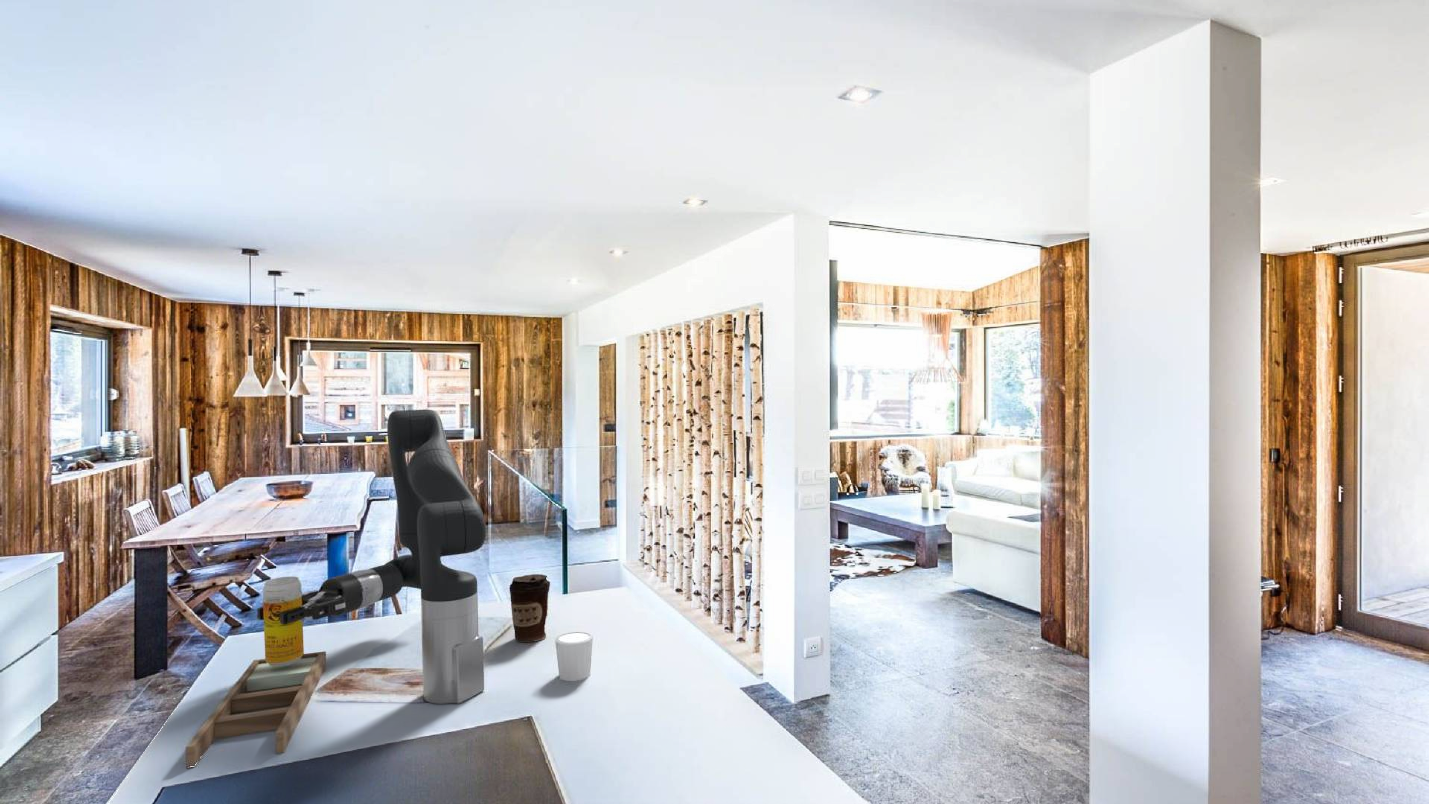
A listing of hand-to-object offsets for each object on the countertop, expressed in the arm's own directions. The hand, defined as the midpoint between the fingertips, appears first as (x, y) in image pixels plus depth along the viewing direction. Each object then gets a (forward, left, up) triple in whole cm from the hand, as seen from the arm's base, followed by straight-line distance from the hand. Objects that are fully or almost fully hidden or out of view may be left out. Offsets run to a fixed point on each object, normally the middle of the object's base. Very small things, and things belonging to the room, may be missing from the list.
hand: (270, 616), depth 130 cm
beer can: (0, -3, -9) cm, 10 cm away
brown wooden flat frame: (-9, +7, -13) cm, 17 cm away
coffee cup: (-27, -38, -13) cm, 49 cm away
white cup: (-48, -25, -13) cm, 56 cm away
